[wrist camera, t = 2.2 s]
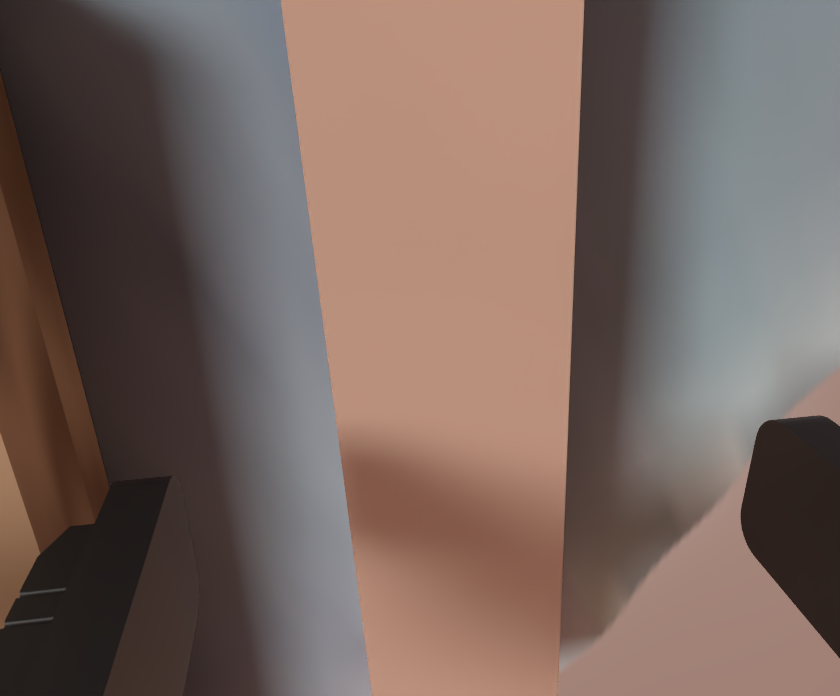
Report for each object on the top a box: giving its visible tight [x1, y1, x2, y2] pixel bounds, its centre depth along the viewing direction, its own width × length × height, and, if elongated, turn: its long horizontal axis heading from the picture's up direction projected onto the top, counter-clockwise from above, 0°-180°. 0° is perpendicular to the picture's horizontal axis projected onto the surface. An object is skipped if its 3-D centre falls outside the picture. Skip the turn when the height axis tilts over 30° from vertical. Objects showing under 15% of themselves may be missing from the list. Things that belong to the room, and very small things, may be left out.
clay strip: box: [281, 0, 584, 696], centre depth 14 cm, size 18×4×4 cm, turn 4°
